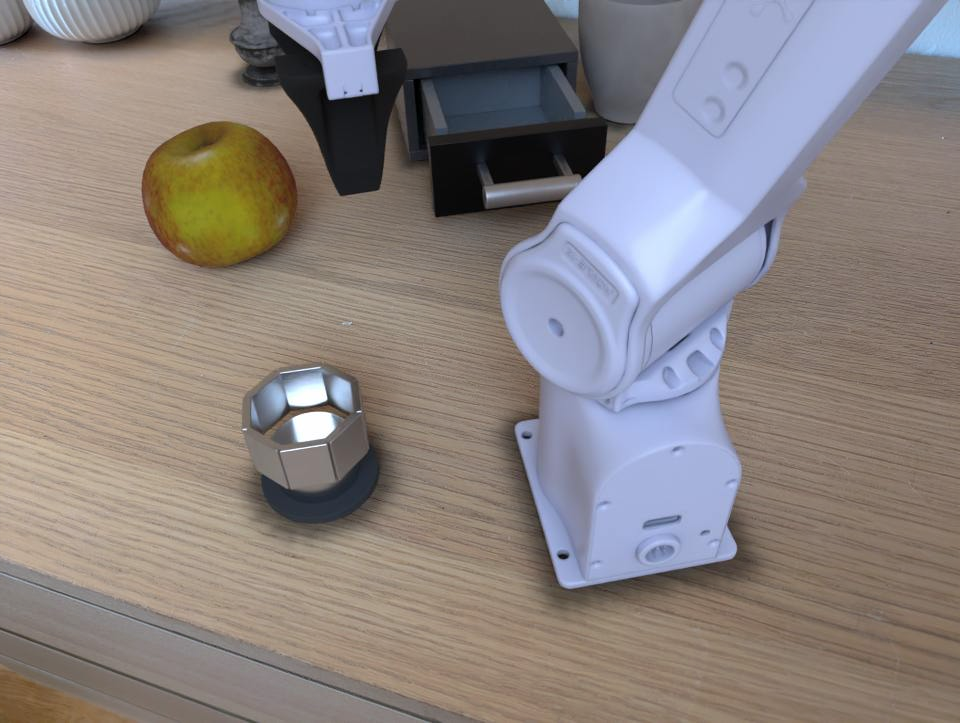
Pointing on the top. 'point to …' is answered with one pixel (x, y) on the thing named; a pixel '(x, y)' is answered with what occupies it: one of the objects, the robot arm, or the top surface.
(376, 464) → the coaster
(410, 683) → the top surface
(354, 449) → the silver hollow octagonal piece
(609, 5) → the mug
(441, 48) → the cabinet
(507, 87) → the drawer
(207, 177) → the fruit
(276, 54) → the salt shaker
